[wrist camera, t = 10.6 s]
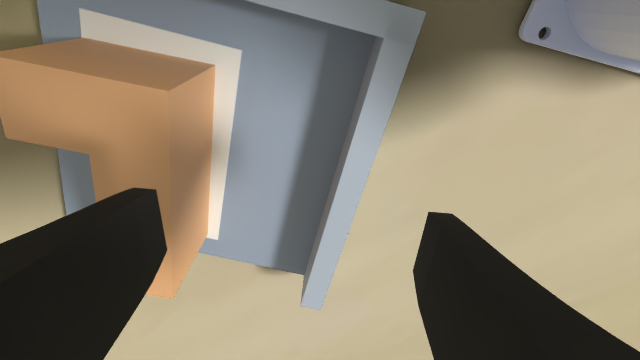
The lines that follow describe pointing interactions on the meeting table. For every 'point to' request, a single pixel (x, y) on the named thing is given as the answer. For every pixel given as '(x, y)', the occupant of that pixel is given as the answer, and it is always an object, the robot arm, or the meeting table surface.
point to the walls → (356, 118)
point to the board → (241, 111)
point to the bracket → (122, 128)
